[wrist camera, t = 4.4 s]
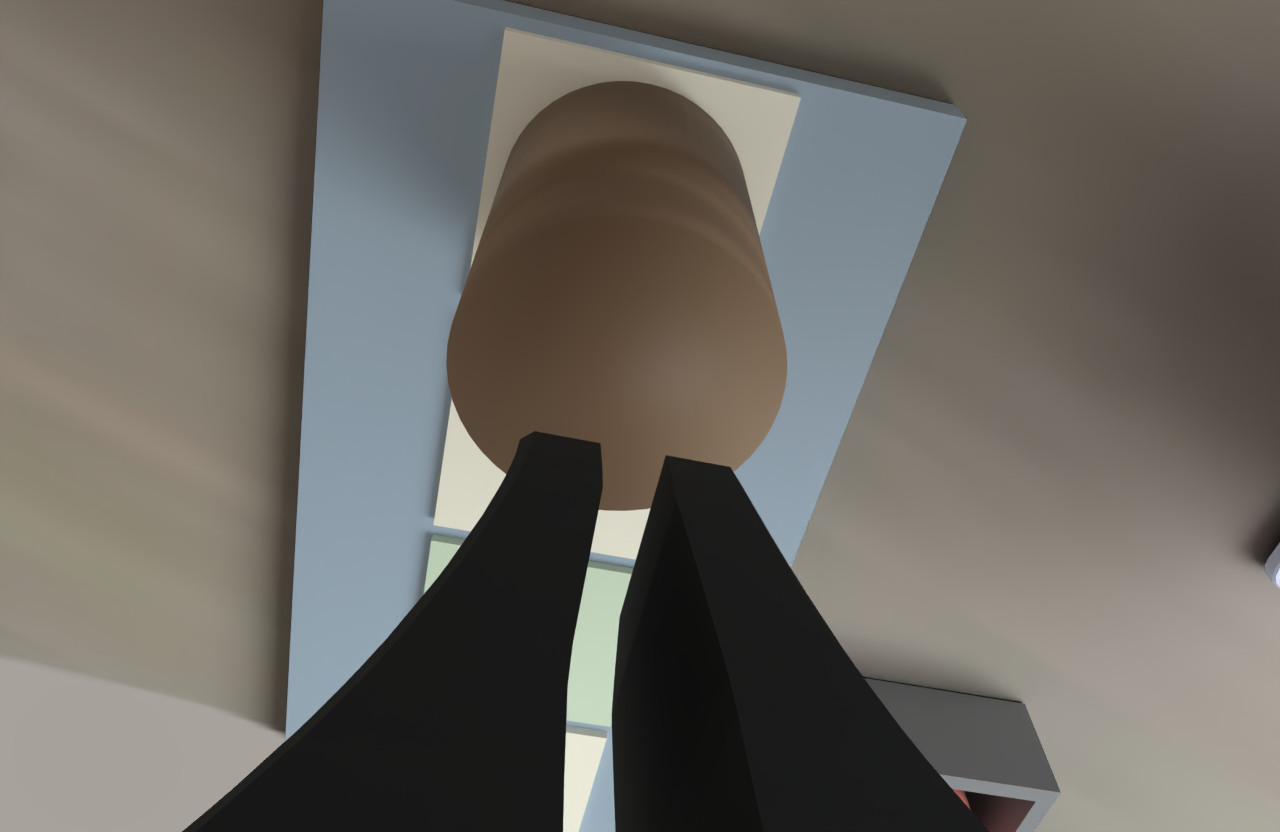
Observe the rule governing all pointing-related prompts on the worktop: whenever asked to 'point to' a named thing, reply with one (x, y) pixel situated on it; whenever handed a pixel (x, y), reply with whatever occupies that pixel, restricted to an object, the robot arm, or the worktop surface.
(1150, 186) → the worktop surface
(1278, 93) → the worktop surface
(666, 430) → the brown wooden cylinder
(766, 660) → the robot arm
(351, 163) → the board
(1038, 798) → the button housing
